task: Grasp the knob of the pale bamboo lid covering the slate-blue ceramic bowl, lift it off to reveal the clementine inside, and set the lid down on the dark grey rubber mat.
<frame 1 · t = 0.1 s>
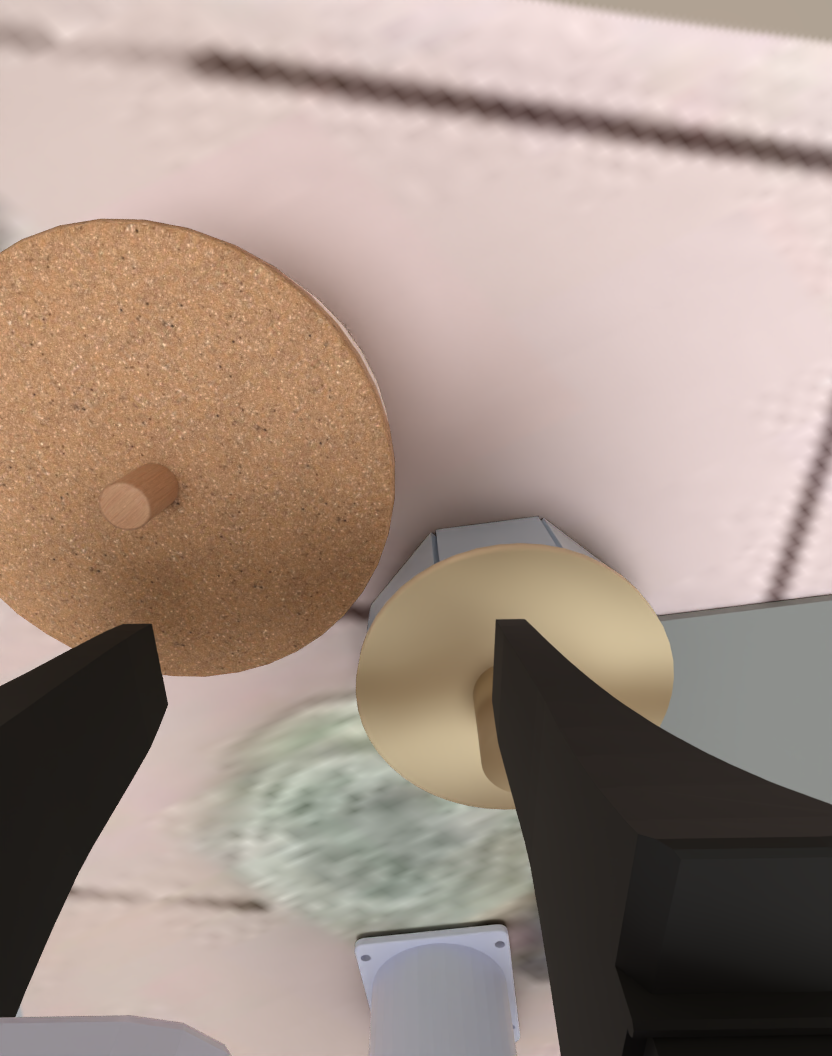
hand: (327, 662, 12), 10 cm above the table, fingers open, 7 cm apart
mat: (780, 719, 25), on the table
bowl: (497, 635, 23), on the table
lidded jar: (250, 420, 20), on the table
lid: (510, 683, 20), point 3 cm above the table, touching bowl
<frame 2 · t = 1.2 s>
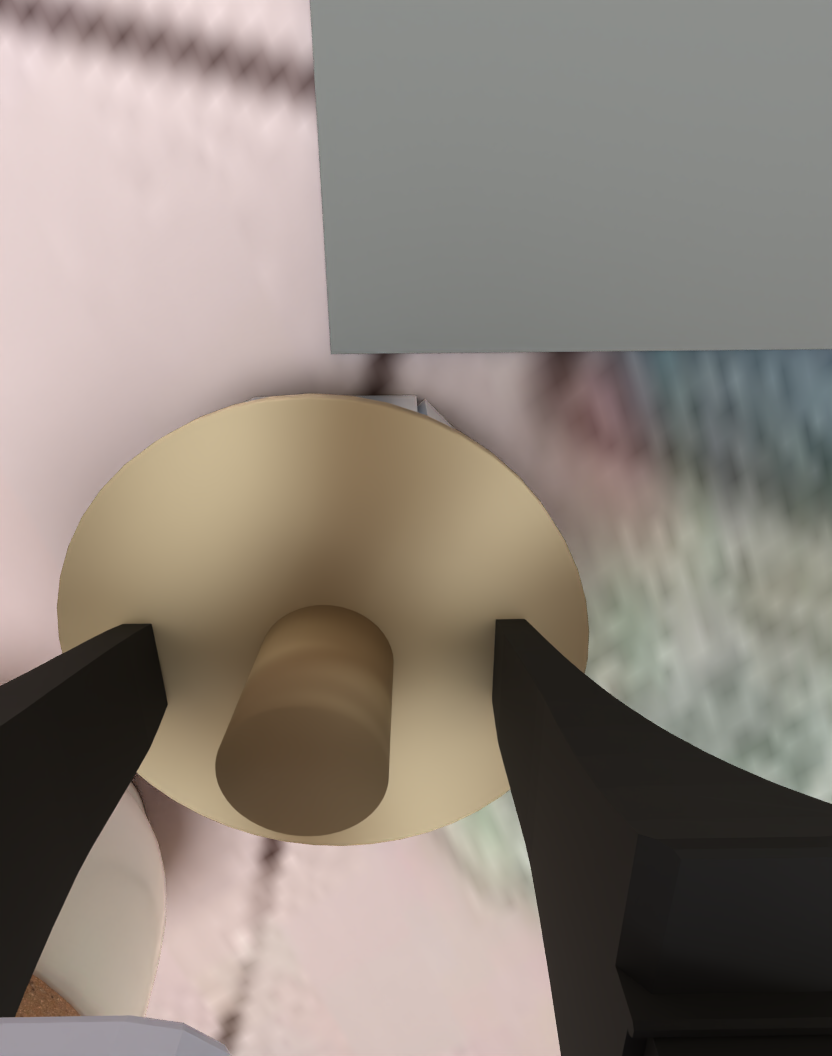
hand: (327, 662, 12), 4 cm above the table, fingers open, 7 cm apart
mat: (617, 34, 11), on the table
bowl: (346, 582, 15), on the table
lidded jar: (53, 803, 18), on the table
lid: (330, 646, 12), point 3 cm above the table, touching bowl, gripper
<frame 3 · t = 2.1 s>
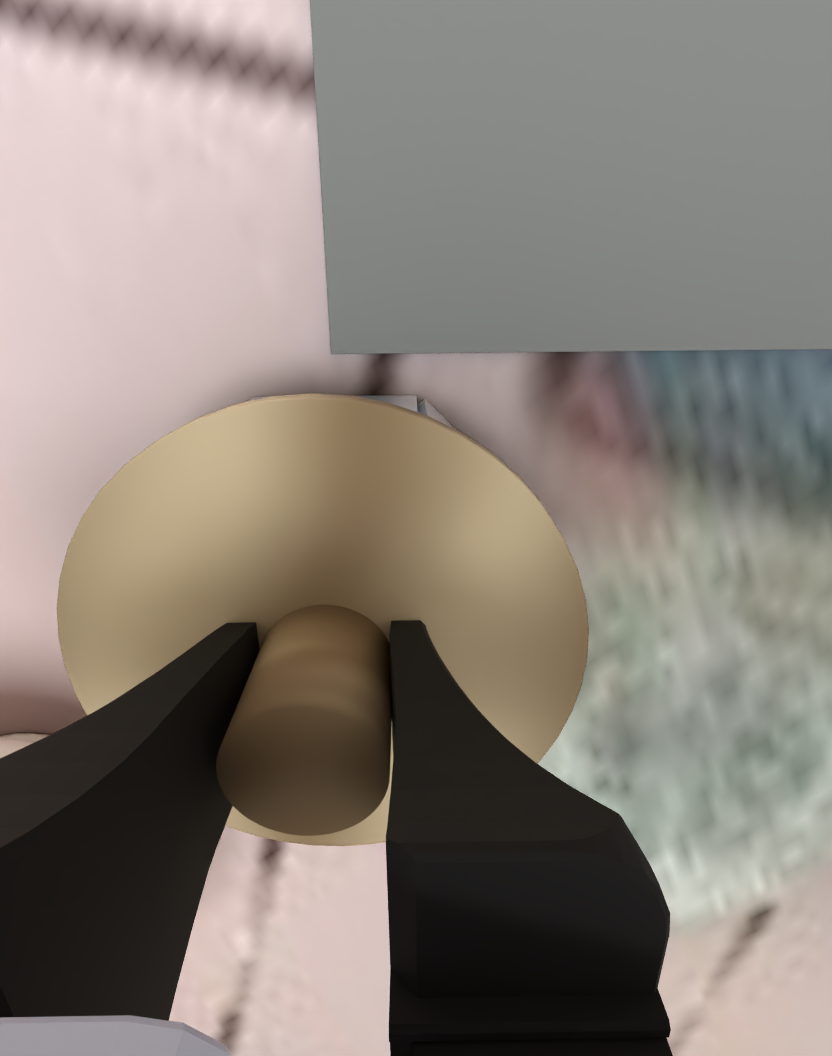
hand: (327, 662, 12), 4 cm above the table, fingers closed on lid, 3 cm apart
mat: (617, 34, 11), on the table
bowl: (346, 582, 15), on the table
lidded jar: (53, 802, 18), on the table
lid: (330, 645, 13), point 3 cm above the table, touching bowl, gripper
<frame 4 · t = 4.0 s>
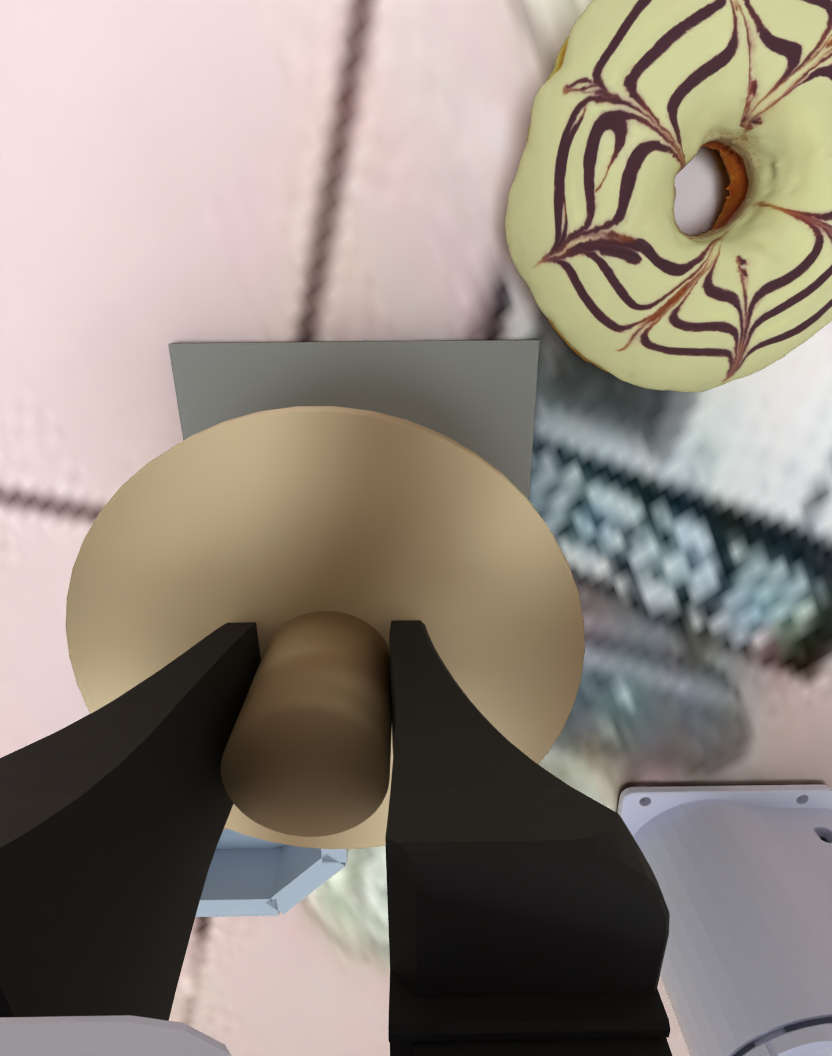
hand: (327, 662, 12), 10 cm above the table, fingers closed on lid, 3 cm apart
decorated donut: (670, 203, 18), on the table
mat: (363, 513, 21), on the table
bowl: (238, 770, 25), on the table
lid: (332, 651, 13), point 9 cm above the table, touching gripper
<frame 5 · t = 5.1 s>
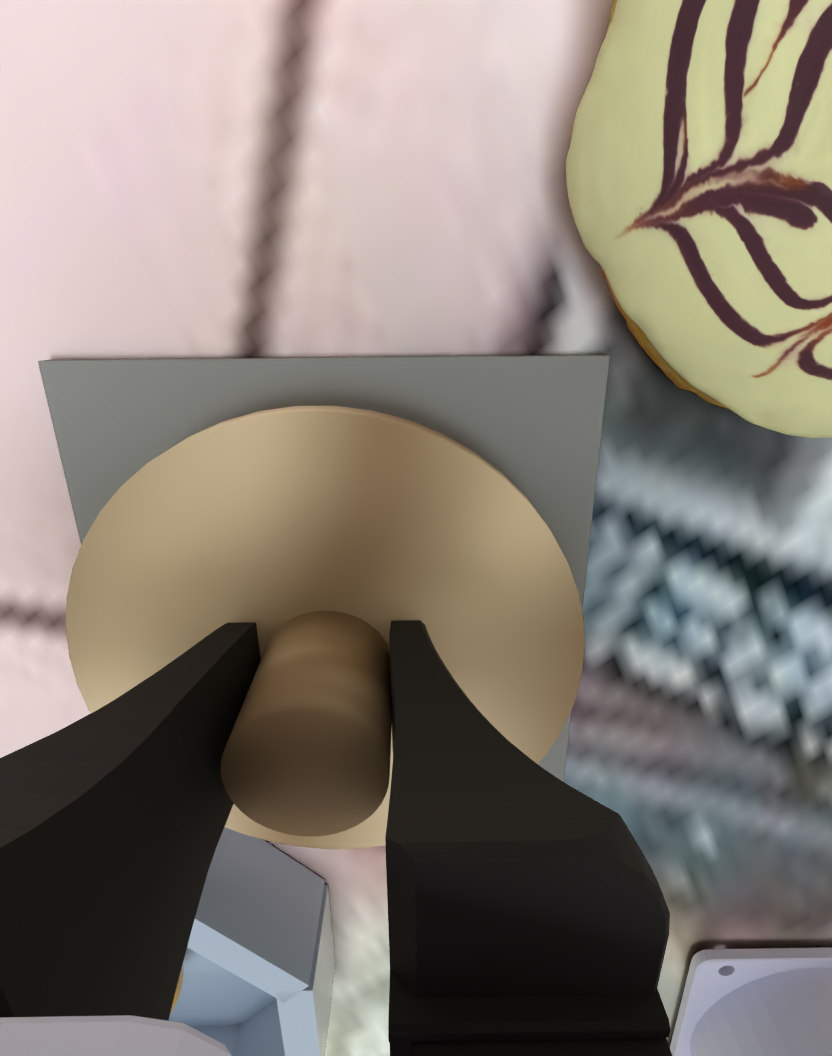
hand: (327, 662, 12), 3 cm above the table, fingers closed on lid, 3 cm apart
decorated donut: (818, 142, 11), on the table
mat: (342, 603, 14), on the table
bowl: (179, 929, 19), on the table
lid: (332, 651, 13), point 2 cm above the table, touching gripper
when the fingers open (2 cm above the table, at t = 6.0 s): lid stays where it is, resting on mat.
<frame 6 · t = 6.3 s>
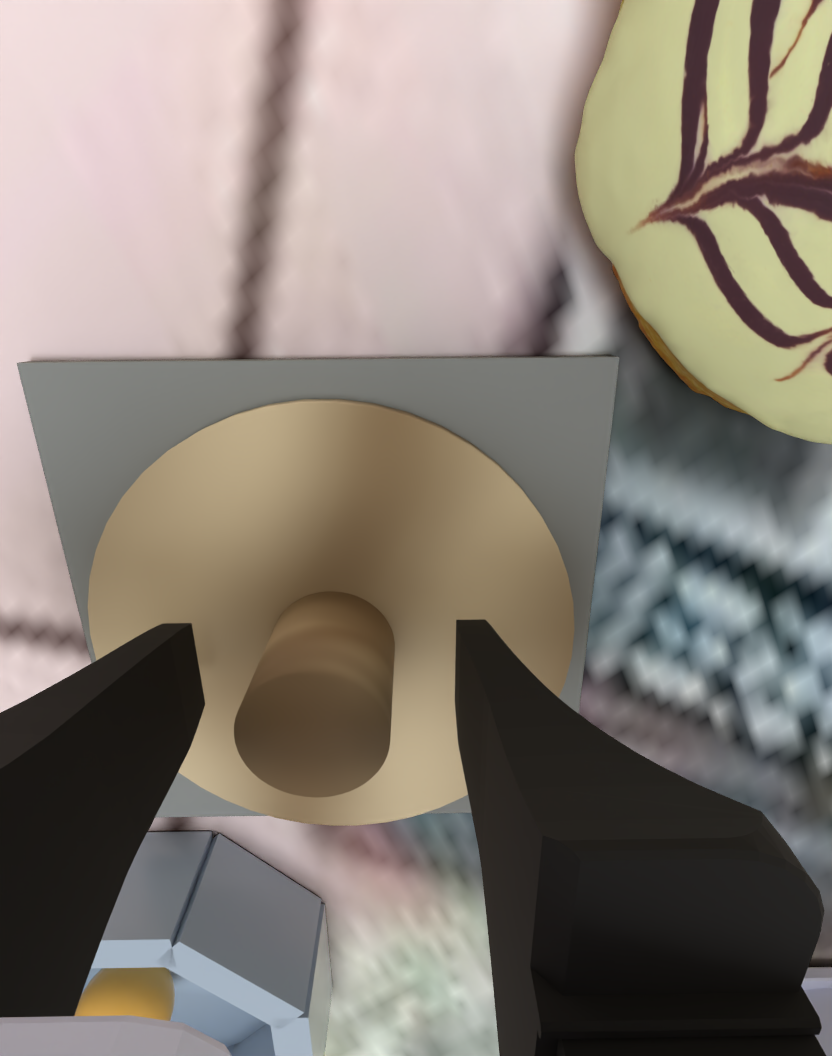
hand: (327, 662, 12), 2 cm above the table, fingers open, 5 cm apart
mat: (338, 614, 14), on the table
bowl: (171, 949, 18), on the table
lid: (336, 632, 14), resting on mat
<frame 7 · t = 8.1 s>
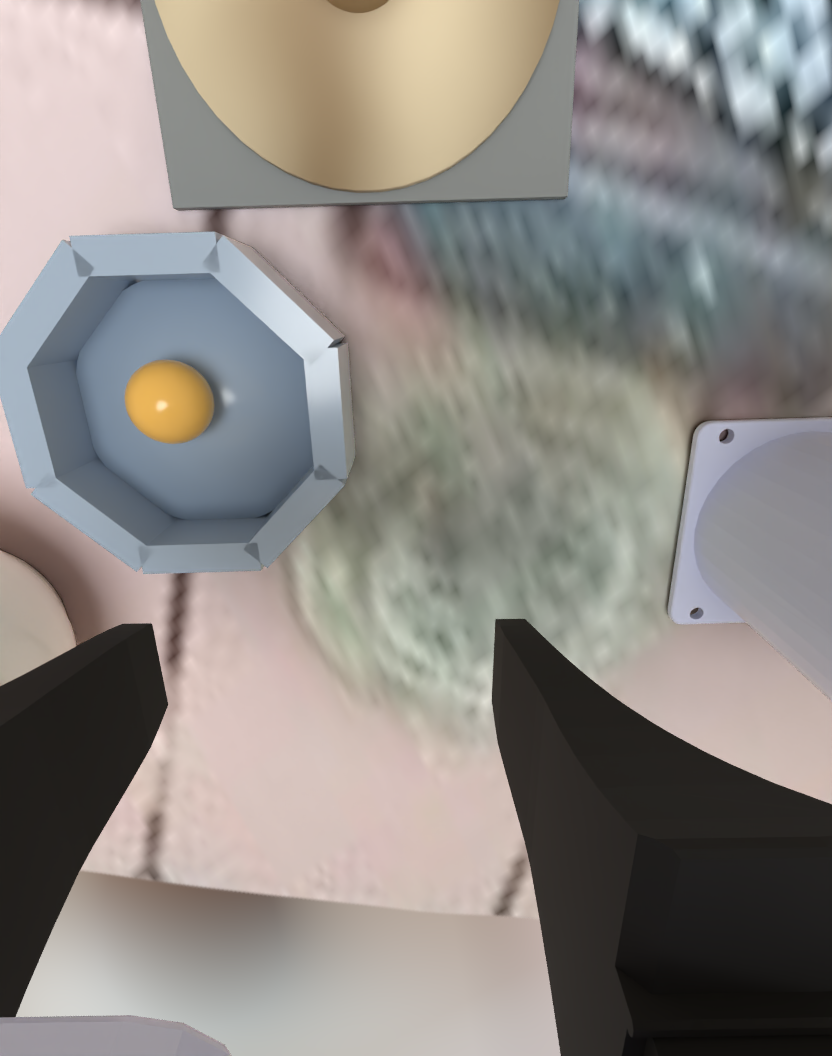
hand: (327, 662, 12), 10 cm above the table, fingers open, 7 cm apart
bowl: (208, 405, 20), on the table
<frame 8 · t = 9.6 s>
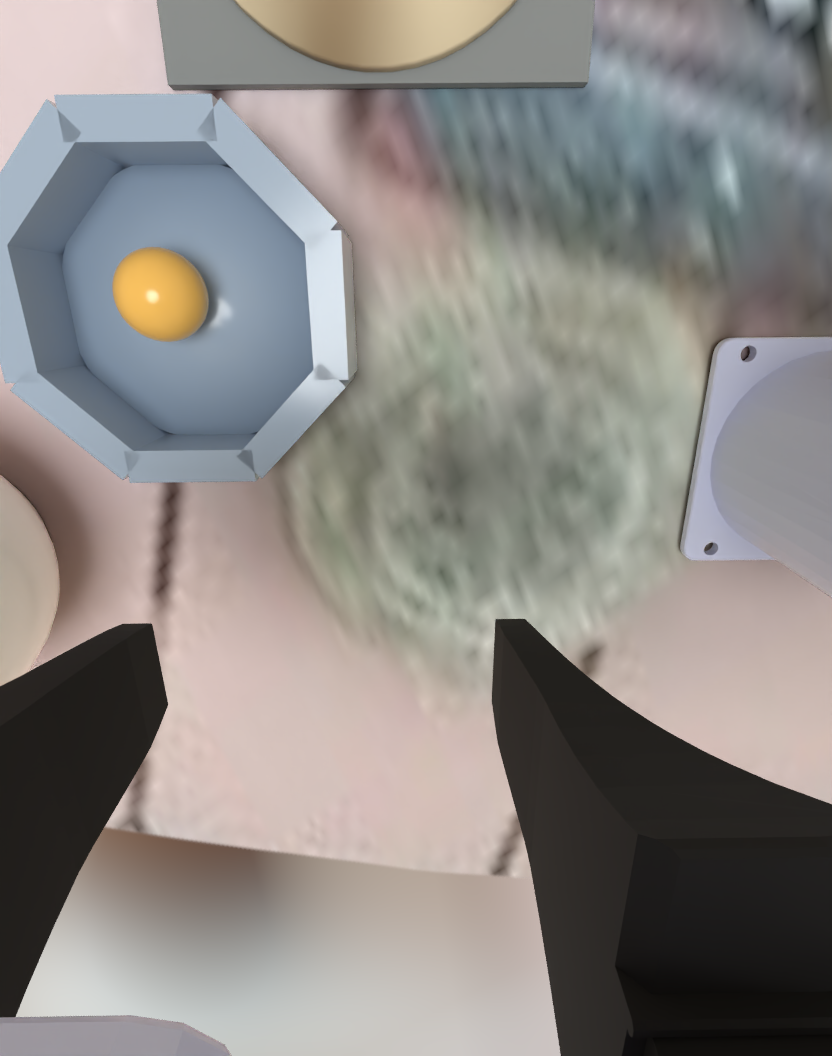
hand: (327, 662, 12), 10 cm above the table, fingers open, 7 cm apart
bowl: (202, 310, 19), on the table
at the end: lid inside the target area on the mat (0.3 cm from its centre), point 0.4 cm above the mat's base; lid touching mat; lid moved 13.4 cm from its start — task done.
